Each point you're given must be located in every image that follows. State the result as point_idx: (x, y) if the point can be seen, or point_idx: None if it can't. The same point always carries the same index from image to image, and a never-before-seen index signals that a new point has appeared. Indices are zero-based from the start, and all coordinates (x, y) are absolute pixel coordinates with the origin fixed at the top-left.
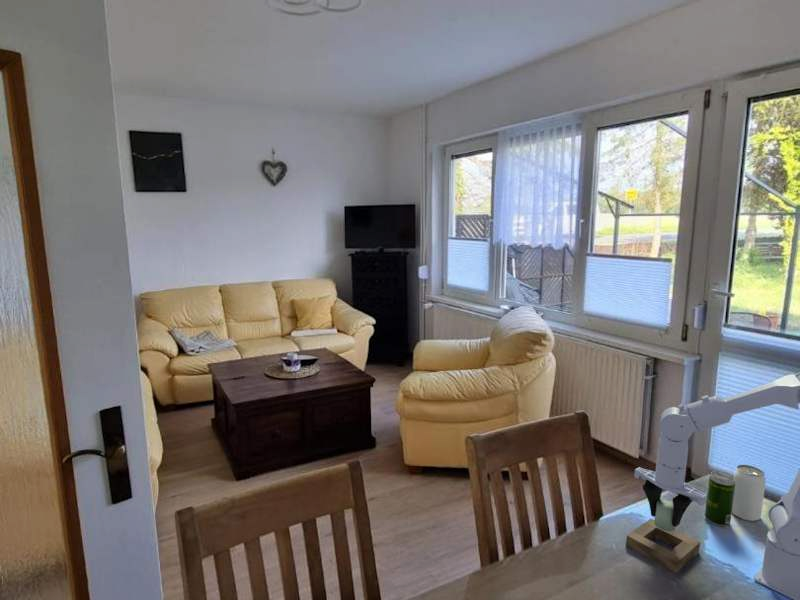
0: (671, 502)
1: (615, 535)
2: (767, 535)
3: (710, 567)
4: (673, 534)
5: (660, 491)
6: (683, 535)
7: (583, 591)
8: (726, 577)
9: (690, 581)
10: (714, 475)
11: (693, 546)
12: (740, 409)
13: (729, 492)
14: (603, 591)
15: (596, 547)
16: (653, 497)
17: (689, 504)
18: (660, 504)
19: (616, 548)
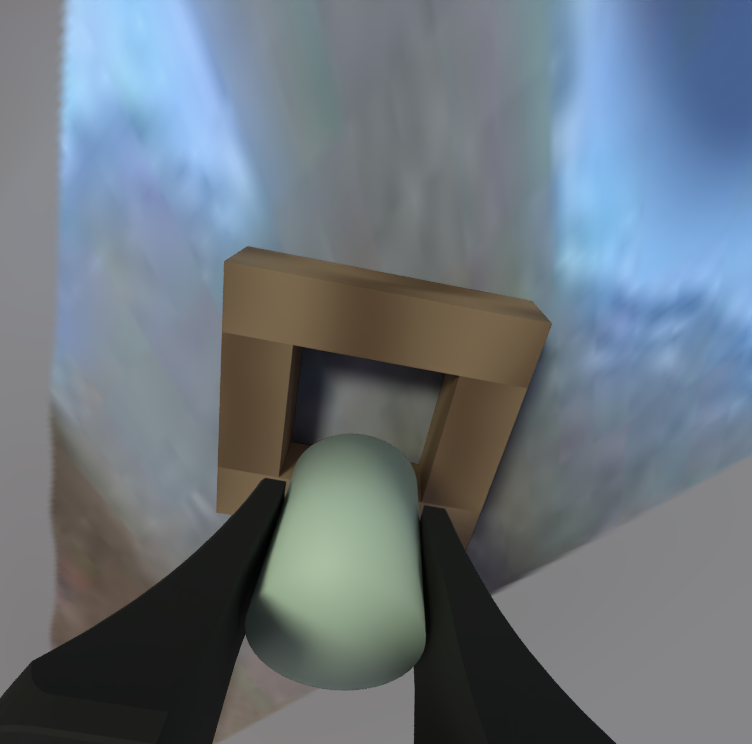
0: (355, 580)
1: (164, 435)
2: None
3: (589, 390)
4: (398, 352)
5: (208, 668)
6: (451, 321)
7: (258, 714)
8: (657, 416)
9: (513, 526)
10: None
11: (518, 396)
12: None
13: None
14: (297, 693)
15: (164, 550)
16: (212, 737)
17: (550, 678)
18: (290, 658)
19: (219, 513)
